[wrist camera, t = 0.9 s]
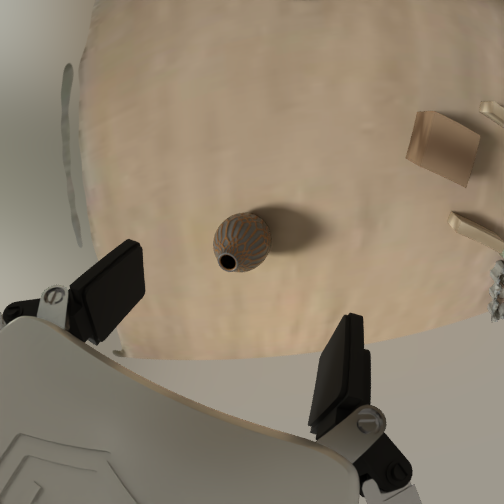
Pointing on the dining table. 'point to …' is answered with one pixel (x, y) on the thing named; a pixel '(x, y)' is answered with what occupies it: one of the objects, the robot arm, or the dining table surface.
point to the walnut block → (443, 146)
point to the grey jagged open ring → (497, 292)
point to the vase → (241, 242)
